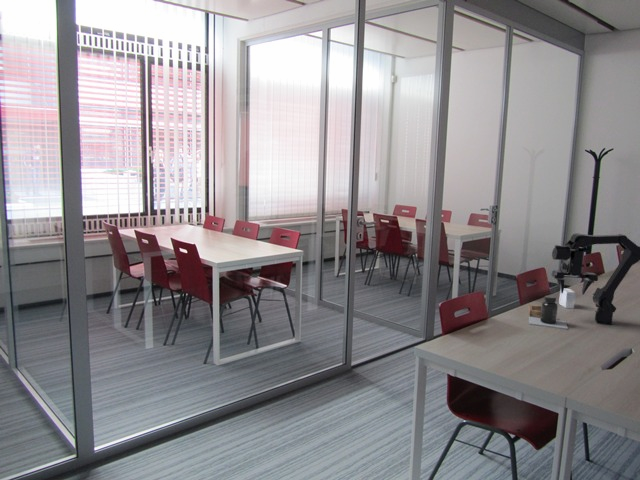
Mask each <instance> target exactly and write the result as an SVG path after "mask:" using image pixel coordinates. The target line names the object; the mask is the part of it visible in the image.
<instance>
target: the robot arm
mask: <svg viewBox="0 0 640 480" xmlns="http://www.w3.org/2000/svg"><path fill="white" fill-rule="evenodd" d="M615 244H618V245H619V247H620V248H622V249H623V251H622V255H621V261H620V262H619V263H618V265H617V267H616V268H615V269H614V271H613V273H612V274H611V275H610V277H609V279H608V280H607V281H606V283H605V285H604V286H602V287H601V288H600V287H597V288H596V289H595V291H594V293H592V295H593V296H592V301H593V303H594V304H595V306H596V308H597V309H596V310H595V313H594V321H595V322H596V323H597V324H602V325H611V326H613V317H614V316H613V315H614V313H615V312H616V310H617V307H616V306H615V305H614V304H613V301H614V297H615V292H616V290H617V289H618V287H619V286H620V284H621V283H622V281H623V280H624V278H625V277H626V275H627V274H628V272H629V271H630V270H631V268H632V266H634V265H635V264H637V263H638V262H640V246H639V245H637V243H635V242H634V241H632V240H631V239H630V238H629V237H628V236H627V235H624V234H621V233H618V234H597V235H595V234H594V235H591V234H585V233H579V232H578V233H575V232H574V233H573V234H572V235H571V237H569V240H568V241H567V242H566V243H565V244H564V245H558V244H555V245H554V247H553V249H552V252H551V257H552V260H554V261H555V260H556V261H568V260H569V261H568V263H565V262H562V263H560V270H555V269H553V270H552V272H551V276H552V277H553V278H554V279H555V280H557V282H558V285H559V289H561V293H563V290H564V288H565V279H564V278H577V279H583V284H582V285H583V286H582V288H581V295H584V294H585V293H586V292H587V291H588V289H589V288H590V286H591V285H592V284H594V283H595V282H598V280H599V276H598V275H597V274H596V273H594V272H587V271H586V272H585V273H583V268H584V259H585V258H584V257H585V253H590V250H589V249H588V248H587V247H590V246H592V245H593V246H594V245H615Z"/></svg>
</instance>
